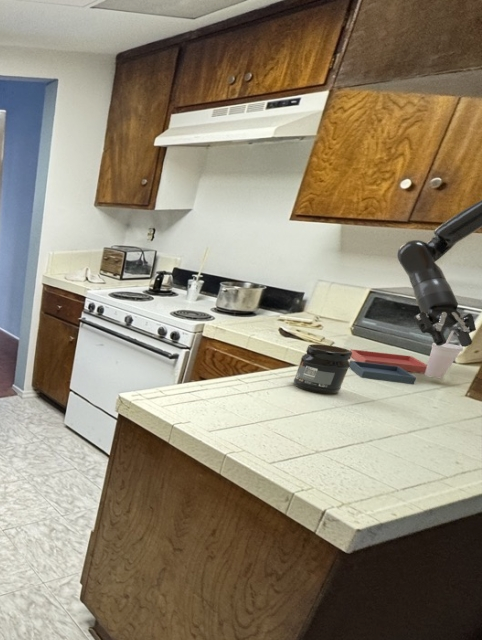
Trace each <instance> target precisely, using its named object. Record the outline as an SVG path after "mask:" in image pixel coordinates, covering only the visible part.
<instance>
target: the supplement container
mask: <svg viewBox="0 0 482 640" xmlns="http://www.w3.org/2000/svg"><path fill="white" fill-rule="evenodd" d="M350 350H351V349H350ZM350 350H349V349H347V348H344V347H339V346H336V345H329V344H328V345H327V344H318V343H314V344H309V345H308V346H307V347H306V350H305V352H306V353H305V354H303V355H302V356H301V358H300V362H299V365H298V367H297V370H296V374H295V376H294V378H293V384H294V385H295V386H296V387H297V388H300V389H302V390H305V391H309V392H312V393H316V394H323V395H324V394H325V395H329V394H330V395H332V394H336V393H339V392H340V390H341V389H342V385H343V383H344V380H345V377H346V375H347V373H348V370H349V369H350V368H349V367H350V363H349V362H350V360H351V358H352V357H351V355H352V352H351V351H350Z"/></svg>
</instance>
